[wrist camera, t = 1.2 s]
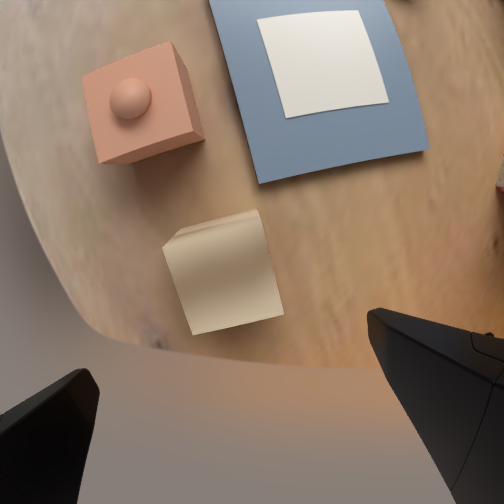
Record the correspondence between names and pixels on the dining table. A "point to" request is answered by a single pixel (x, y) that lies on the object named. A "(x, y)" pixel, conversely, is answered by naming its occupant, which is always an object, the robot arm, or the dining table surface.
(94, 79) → the terracotta block
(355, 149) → the board
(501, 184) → the stack of blocks
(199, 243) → the beech block
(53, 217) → the dining table surface
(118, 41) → the dining table surface
